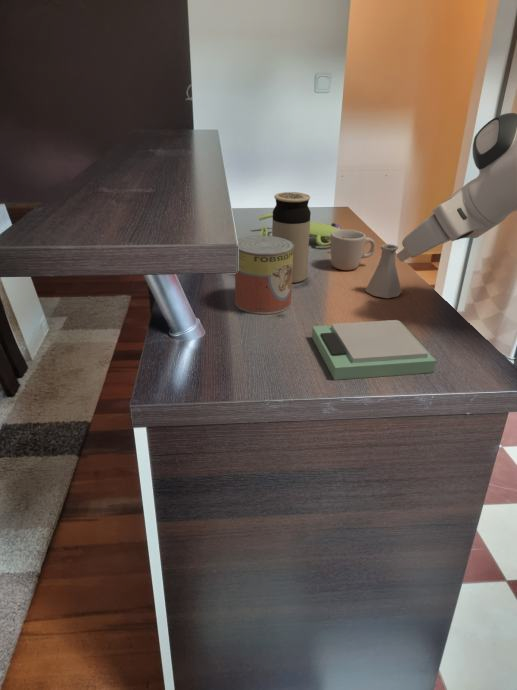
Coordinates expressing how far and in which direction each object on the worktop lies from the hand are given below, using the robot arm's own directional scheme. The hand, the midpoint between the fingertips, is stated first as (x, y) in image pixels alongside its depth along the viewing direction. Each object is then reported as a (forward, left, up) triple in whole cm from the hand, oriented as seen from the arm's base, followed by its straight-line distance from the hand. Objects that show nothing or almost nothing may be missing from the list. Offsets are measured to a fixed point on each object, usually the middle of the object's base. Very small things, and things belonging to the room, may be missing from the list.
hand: (412, 252), depth 101 cm
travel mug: (+21, -14, -10) cm, 28 cm away
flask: (+3, -3, -10) cm, 11 cm away
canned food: (+29, -1, -10) cm, 31 cm away
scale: (+15, +22, -10) cm, 28 cm away
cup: (+5, -19, -10) cm, 23 cm away
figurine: (+13, -41, -10) cm, 44 cm away
